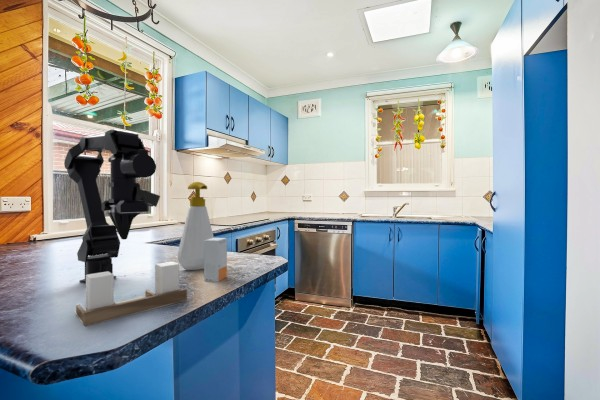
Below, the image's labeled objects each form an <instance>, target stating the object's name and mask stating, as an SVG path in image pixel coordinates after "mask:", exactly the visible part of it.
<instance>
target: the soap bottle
mask: <svg viewBox="0 0 600 400" xmlns="http://www.w3.org/2000/svg"><path fill="white" fill-rule="evenodd" d="M187 190H195V191H194V195H195V197H194V196H193V197H191V198H190V199H189V207H188V210H187V214H186V218H185V223H184V226H183V231H182V235H181V238H180V242H179V246H178V250H177V260H178V261H177V262H178V264H179V266H180V267H182V269H183V270H185V271H196V270H204V241H205V240H208V239H211V238H215V237H214V236H215V235H214V233H213V228H212V225H211V222H210V217H209V212H208V209H207V206H206V199H204V196H201V190H208V186H207V185H206V184H205V183H203V182H201V181H195V182H192V183H190V184H189V185H188V187H187Z"/></svg>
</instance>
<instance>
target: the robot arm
mask: <svg viewBox="0 0 600 400" xmlns="http://www.w3.org/2000/svg"><path fill="white" fill-rule="evenodd" d="M85 151H89V152H90V151H91V152H97V155H96V156H95V155H87V154H86V155H85V154H83V153H85ZM103 151H105V152H106V151H108V152H110V153H111V154H112V155H111V156H109V158H108V160H107V162H108V163H110V182H108V187H109V188H110V198H108V200H104V201H102V198H101V193H100V190H99V189H100V188H99V185H98V182H97V181H98V177H99V174H100V173H101V168H102V166H103V163H104V162H105V160H104V158H103V155H102V153H103ZM63 164H64V165H63V166H64V168H65V169H66V170H67V173H68V177H69V179H72V180H73V181H74V182H75V183H76V184H77V187H78V192H79V196H80V201H81V202H80V203H81V206H82V210H83V215H84V219H85V223H86V224H85V225H86V229H85V232H84V234H83V236H82V241H81V244H80V247H79V249H78V251H77V253H76V255H77V261H78V262H79V261H80V262H83V263H84V278H83V279H80V280H79V283H85V284H86V275H88V274H94V273H101V272H107V271H109V272H110V273H112V274H113V271H114V270H113V265H114V264H113V262H112V261H113V260H112V259H113V258H118V257H119V253H120V252H119V251H120V245H121V240H127V239H128V236H129V233H130V230H131V227H132V223H133V220H134V219H135V218H136V217H137V216H139V215H141V213H148V212H150V209H149V208H150V207H152V208H153V207H158V203H159V201H160V198H161V195H159V194H156V193H153V192H151V191H150V190H147V189H141V184H140V183H139V182H137V179H143V178H144V179H145V178H149V177H152V176H153V175H154V174H155V173H156V170H157V163H156V162H155V160H154V158H153V157H152V156H150V155H149V151H148V150H147V149H146V147H145V146H144V144H143V141H142V139H141V138H140V137H139V134H138V133H137V132H133V131H127V130H121V129H115V128H110V129H108V130H106V131H105V132H104V134H103V135H94V136H93V135H92V136H88V135H86V136H82V137H80V139H79V142H78V143H77V144H75V145H73V146H72V147H70V148H69V149H68V151H67V153H66V156H65V158H64V163H63ZM105 211H108V212H107V215H108V216H109V218H110V220H111V222H112V224H110V223H108V222H107V219H106V214H105ZM109 211H110V212H109ZM119 237H120V238H119ZM113 275H114V274H113ZM114 279H117V275H114Z"/></svg>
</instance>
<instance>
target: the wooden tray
mask: <svg viewBox="0 0 600 400" xmlns="http://www.w3.org/2000/svg"><path fill="white" fill-rule="evenodd" d="M144 291H145V293H144V294H145V295H144V296H140V297H136V298H131V299H126V300H122V301H117V302H115V301H114V305H109V306H105V307H100V308H96V309H91V310H87V311H86V308H83V306H82V305H81V304H76V305H75V311H74V313H75V315H76V316H77V318H78V319H79V320H80V322H81V323H82V325H83V326H84V327H87V326H88V327H89V326H92V325H95V324H99V323H103V322H107V321H111V320H115V319H119V318H123V317H126V316H131V315H135V314H138V313H142V312H147V311H150V310H153V309H154V310H155V309H158V308H161V307H162V308H163V307H164V306H165V307H166V306H169V305H173V304H177V303H178V304H179V303H181V302H184V301H187V300H188V289H187V288H182V289H180V288H179V290H175V291H171V292H167V293H162V294H158V295H156V294H155V292H153V291H151V290H149V289H146V290H144Z"/></svg>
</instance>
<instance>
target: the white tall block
mask: <svg viewBox="0 0 600 400" xmlns="http://www.w3.org/2000/svg"><path fill="white" fill-rule="evenodd" d="M114 276H115V275H114V274H112V273H110V272H109V271H107V272H101V273H94V274H88V275H86V283H85V309H86V311H87V310H91V309H96V308H100V307H105V306H109V305H114V302H115V298H114V297H115V291H114V290H115V289H114V288H115V287H114V282H115V278H114Z"/></svg>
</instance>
